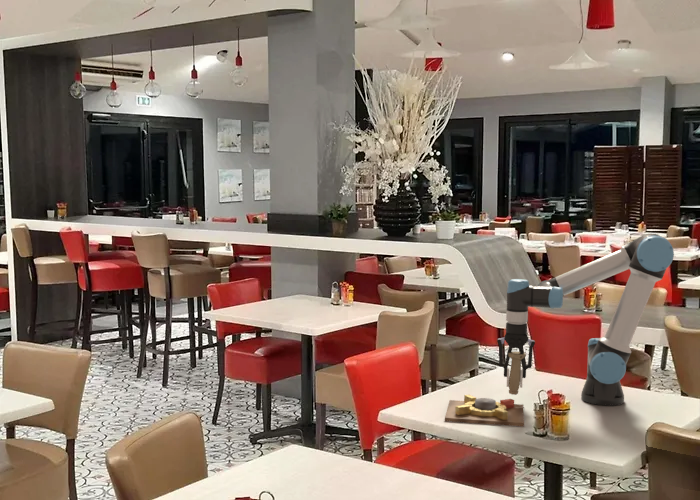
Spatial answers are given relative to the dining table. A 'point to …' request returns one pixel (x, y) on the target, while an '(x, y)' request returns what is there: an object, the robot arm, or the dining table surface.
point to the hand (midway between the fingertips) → (514, 386)
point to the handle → (515, 371)
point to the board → (486, 404)
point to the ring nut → (470, 409)
